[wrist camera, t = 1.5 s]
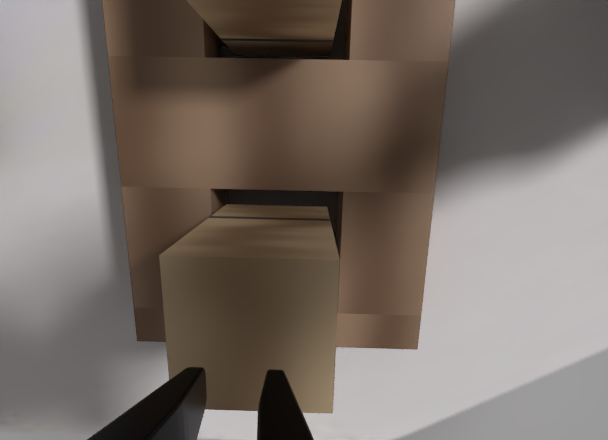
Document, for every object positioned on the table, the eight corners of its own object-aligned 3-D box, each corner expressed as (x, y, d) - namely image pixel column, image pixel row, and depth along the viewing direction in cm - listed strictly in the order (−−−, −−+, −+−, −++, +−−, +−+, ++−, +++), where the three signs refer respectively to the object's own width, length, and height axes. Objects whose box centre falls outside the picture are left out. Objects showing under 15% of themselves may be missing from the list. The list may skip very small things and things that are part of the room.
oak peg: (327, 206, 18) (340, 259, 10) (324, 300, 19) (333, 413, 11) (226, 203, 18) (158, 254, 10) (229, 297, 19) (170, 408, 11)
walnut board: (445, -121, 17) (563, -348, 9) (403, 321, 22) (453, 419, 14) (123, -124, 17) (-37, -347, 9) (159, 314, 22) (79, 407, 15)
